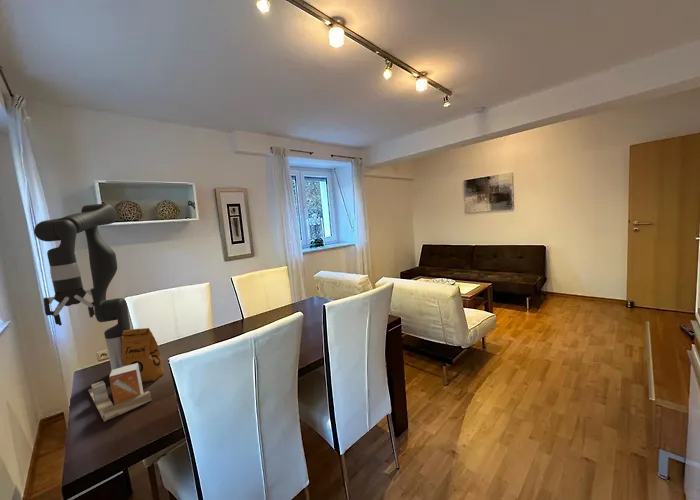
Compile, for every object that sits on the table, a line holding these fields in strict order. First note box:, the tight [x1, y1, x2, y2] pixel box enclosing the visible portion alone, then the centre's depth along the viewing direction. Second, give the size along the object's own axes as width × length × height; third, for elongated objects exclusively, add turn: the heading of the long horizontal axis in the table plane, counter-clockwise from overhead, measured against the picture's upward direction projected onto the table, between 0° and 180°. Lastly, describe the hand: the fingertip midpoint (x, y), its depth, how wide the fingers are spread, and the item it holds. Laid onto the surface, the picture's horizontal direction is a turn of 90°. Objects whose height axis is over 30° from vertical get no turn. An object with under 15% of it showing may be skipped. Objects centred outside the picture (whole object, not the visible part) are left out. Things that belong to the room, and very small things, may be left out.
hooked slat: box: [88, 380, 152, 423], centre depth 118 cm, size 30×14×7 cm, turn 48°
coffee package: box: [121, 327, 165, 383], centre depth 129 cm, size 10×12×22 cm
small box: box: [108, 363, 145, 406], centre depth 113 cm, size 8×6×13 cm
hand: (76, 320), depth 111 cm, fingers open, 8 cm apart
